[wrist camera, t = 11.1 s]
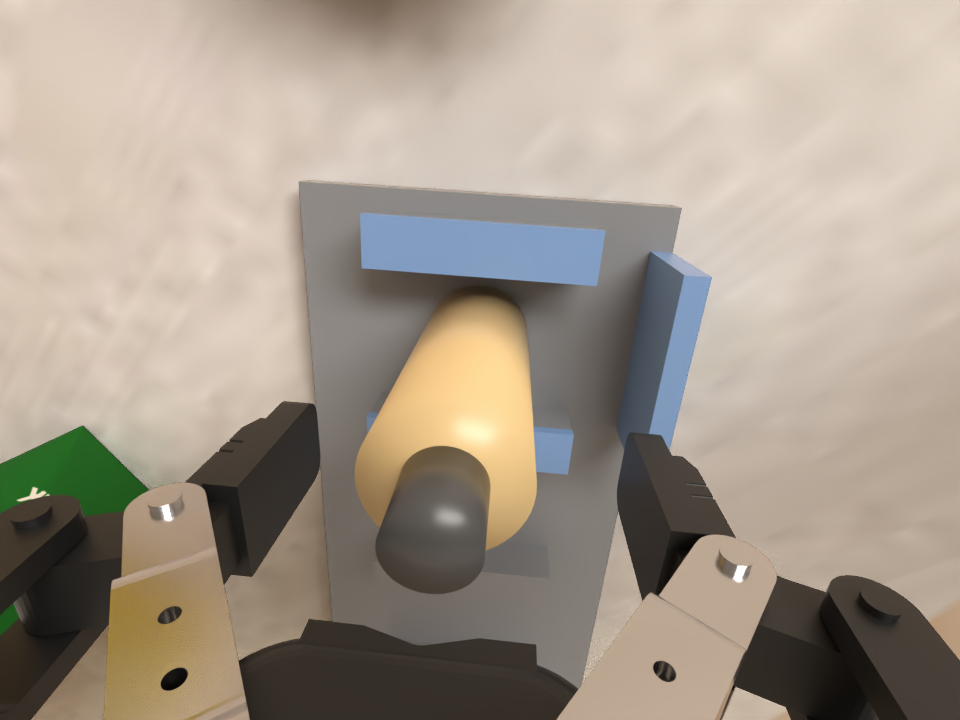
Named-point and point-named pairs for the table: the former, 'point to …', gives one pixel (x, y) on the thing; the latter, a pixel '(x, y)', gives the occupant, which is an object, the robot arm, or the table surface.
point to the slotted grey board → (553, 371)
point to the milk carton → (67, 481)
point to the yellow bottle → (453, 445)
